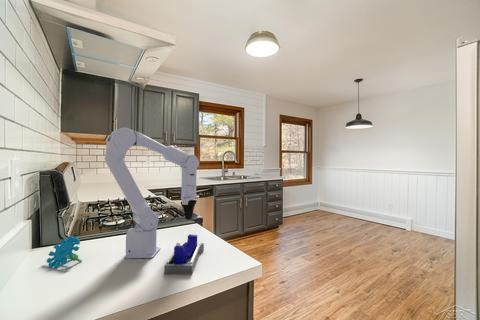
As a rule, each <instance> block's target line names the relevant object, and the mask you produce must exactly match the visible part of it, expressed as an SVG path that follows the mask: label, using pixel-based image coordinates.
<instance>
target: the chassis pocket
mask: <svg viewBox="0 0 480 320" xmlns="http://www.w3.org/2000/svg"><path fill="white" fill-rule="evenodd" d="M204 244H205V243H204V242H200V243H199V244H197V247H196V250H195V252H194V254H193V256H192V257H191V258H190V260H189V261H190V262H189V263H186V264H174V251H173V252H172V253H171V254H170V256H169V257H168V259H167V261H166V262H165V264H164V265H163V266H164V268H163V269H164V271H163V272H164V275H192V274H193V273H194V270H195V268H196V265H197V262H198V259H199V257H200V253H202V252H203V251H204V249H205V247H204V246H205V245H204ZM176 245H177V246H182V245H181V243H180V242H176V244H175V246H176Z"/></svg>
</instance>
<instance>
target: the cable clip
mask: <svg viewBox="0 0 480 320" xmlns="http://www.w3.org/2000/svg"><path fill="white" fill-rule="evenodd" d="M197 245H198V234H188V235H187V241H186V242H184V243H183V244H182V245H181V246H177V245H176V244H175V246H174V247H173V252H174V264H188V262H189V261H191V259H192V257H193V254H194V252H195V250H196V247H197Z"/></svg>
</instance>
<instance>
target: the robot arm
mask: <svg viewBox="0 0 480 320" xmlns="http://www.w3.org/2000/svg"><path fill="white" fill-rule="evenodd" d="M132 147H143V148H146V149H149V150H150V151H154V152H156V153H158V154H161V155H162V156H163V157H162V158H163V159H164V160H166V161H168V162H170V163H172V164H175V165H177V166H179V168H181V194H180V199H181V202H180V205H181V207H182V210H183V212H184V213H183V214H184V218H185V220H187V221H188V220H192V219H193V215H194V209H195V206H196V204H197V202H198V201H197V200H196V199H199V198H200V195H197V170H198V168H199V166H200V161H199V158H198V157H197V156H196V155H194V154H189V151H186V150H185V151H184V150H181V149H179V146H177V145H176V144H175V145H168V146H166V145H164V144H162V143H160V142H159V141H156V140H155V139H154V138H153V139H152V138H151V137H149V136H147V135H145V134H143V133H141V132H139V131H137V130H133V129H131V128H130V127H129V128H128V127H120V128H118V129H115V130H112V132H111V133H110V135H109V136H108V137H107V140H106V146H105V154H104V161H105V164H106V166H107V167H108V169H109V171H110V173H111V174H112V176H113V177H114V179H115V181H116V183H117V184H118V187H119V189H120V190H121V192H122V193H123V195H124V197H125V199H126V201H127V203H128V205H129V206H130V209H131V211H132V219H133V221H134V223H135V225H134V227H131V228H129V229H127V232H126V236H125V255H124V259H153V258H154V257H155V256H156V255H157V254H158V252H159V251H160V249H161V247H160V246H159V247H157V233H158V232H157V230H158V229H157V225H158V224H159V223H160V222H159V221H160V217H159V214H158V213H157V212H156V211H153V209H152V208H151V206H150V205H149V204H148V202H147V201H146V199H145V198H144V196H143V194H142V192H141V190H140V189H139V186H138V185H137V183H136V181H135V179H134V177H133V175H132V174H131V172H130V170H129V168H128V166H127V164H126V162H125V161H124V160H125V159H124V158H125V157H126V155H127V153H128V150H129V149H130V148H132Z"/></svg>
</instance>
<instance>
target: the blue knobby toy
mask: <svg viewBox="0 0 480 320" xmlns="http://www.w3.org/2000/svg"><path fill="white" fill-rule="evenodd" d="M80 244H81V240H80V239H79V238H78V236H76V235H75V236H68V237H67V239H65V238H63V239H61V240H60V245H59V243H57V244H55V245H54V246H53V249H55V252H54V251H52V250H51V251H50V252H49V253H48V254H47V255H48V256H49V257H48V258H47V259H46V263H47V264H48V267H50V268H53V267H54V268H56V269H57V268H59V267H60V266H61V265H62V266H63V265H66V264H67V263H68V260H71V261H73V262H78V263H82V262H83V259H80V258H79V254H77V253H74V252H73V251H75V252H78V251H79V249H80V247H79V246H78V245H80ZM75 245H76V246H75Z"/></svg>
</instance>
